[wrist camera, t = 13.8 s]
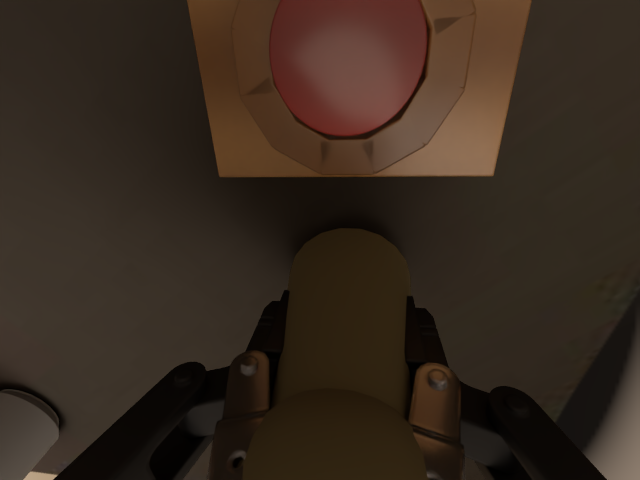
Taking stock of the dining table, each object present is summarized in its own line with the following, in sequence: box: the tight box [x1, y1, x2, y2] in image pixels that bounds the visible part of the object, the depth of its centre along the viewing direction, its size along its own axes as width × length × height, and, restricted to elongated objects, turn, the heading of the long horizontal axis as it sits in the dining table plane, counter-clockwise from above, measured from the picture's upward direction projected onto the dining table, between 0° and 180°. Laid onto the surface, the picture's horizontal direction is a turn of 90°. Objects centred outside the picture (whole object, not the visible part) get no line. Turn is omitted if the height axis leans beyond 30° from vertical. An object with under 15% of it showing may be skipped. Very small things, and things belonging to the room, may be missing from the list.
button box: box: [187, 0, 532, 177], centre depth 11 cm, size 8×11×4 cm
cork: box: [236, 228, 430, 480], centre depth 11 cm, size 6×6×11 cm
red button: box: [269, 0, 427, 136], centre depth 9 cm, size 4×4×2 cm
